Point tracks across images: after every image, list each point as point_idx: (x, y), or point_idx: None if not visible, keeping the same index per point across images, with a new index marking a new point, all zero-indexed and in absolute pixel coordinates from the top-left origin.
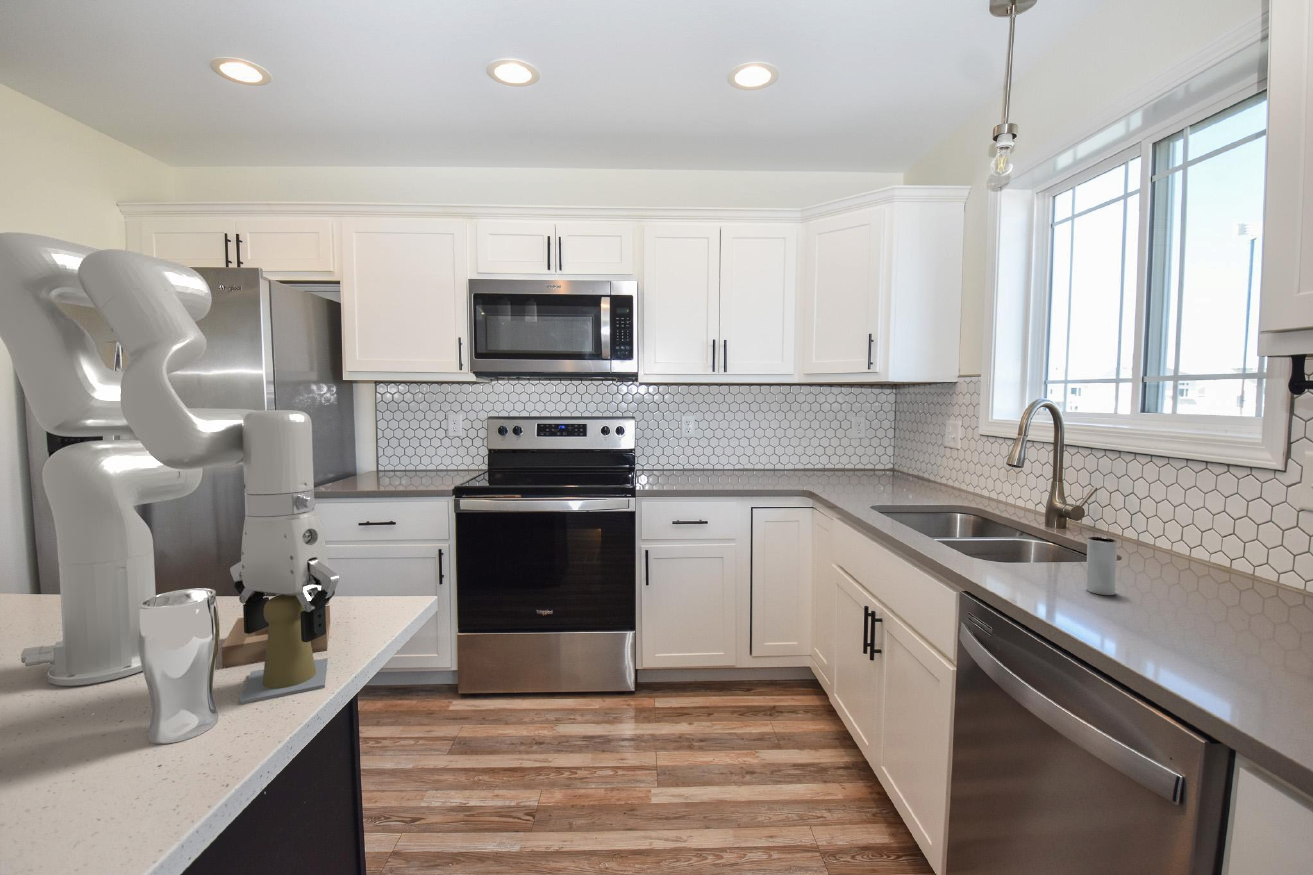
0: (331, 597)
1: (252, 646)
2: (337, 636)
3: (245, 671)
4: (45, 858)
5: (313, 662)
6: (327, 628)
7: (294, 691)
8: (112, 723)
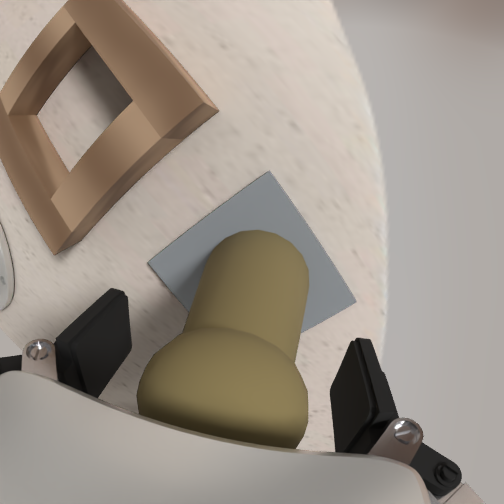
0: (442, 456)
1: (86, 219)
2: (183, 34)
3: (127, 246)
4: None
5: (302, 274)
6: (174, 63)
7: (309, 326)
8: (122, 388)
